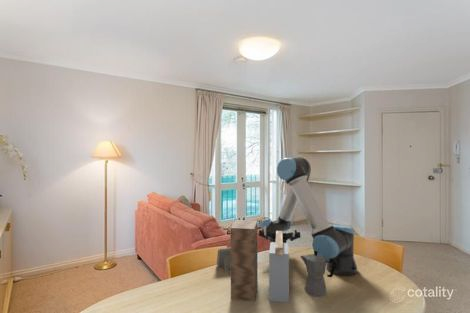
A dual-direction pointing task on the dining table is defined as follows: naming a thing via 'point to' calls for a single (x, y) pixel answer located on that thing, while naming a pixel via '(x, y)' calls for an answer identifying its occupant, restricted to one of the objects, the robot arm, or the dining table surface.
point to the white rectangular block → (279, 274)
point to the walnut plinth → (244, 260)
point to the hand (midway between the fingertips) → (279, 229)
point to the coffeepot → (317, 273)
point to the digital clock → (224, 258)
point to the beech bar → (279, 243)
